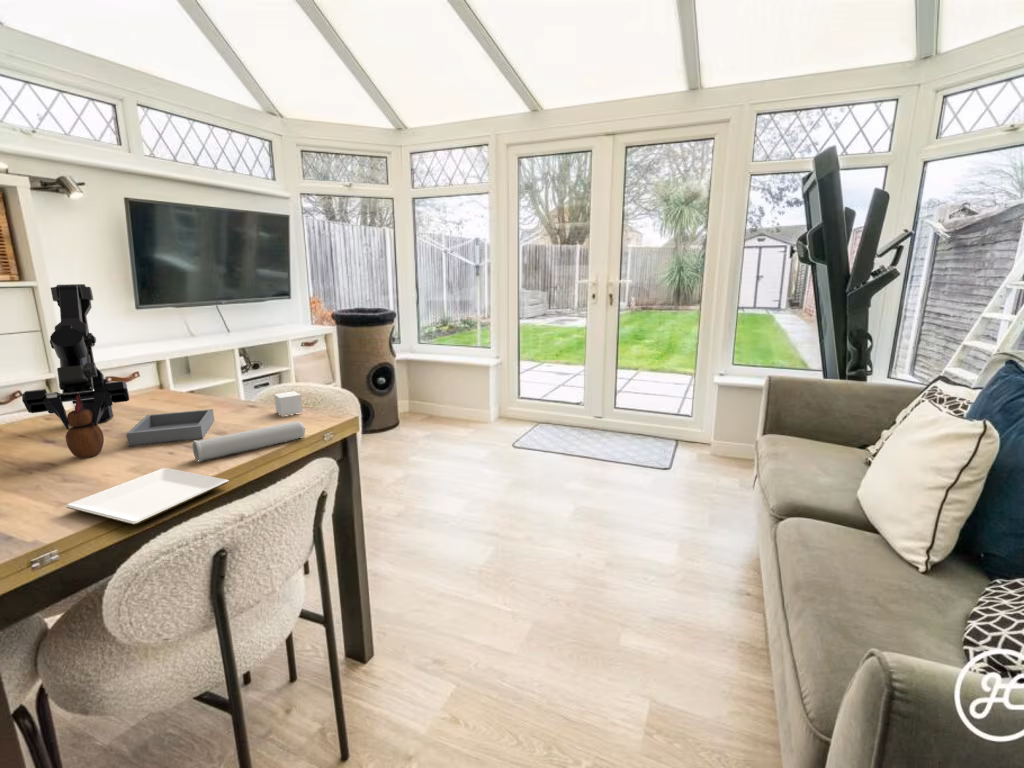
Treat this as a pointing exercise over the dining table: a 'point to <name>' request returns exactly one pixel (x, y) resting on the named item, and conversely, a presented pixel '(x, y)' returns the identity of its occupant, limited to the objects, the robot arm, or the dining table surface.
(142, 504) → the plate
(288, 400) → the light grey cube
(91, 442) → the wooden figurine
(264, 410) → the dining table surface
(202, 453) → the tube
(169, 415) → the box
